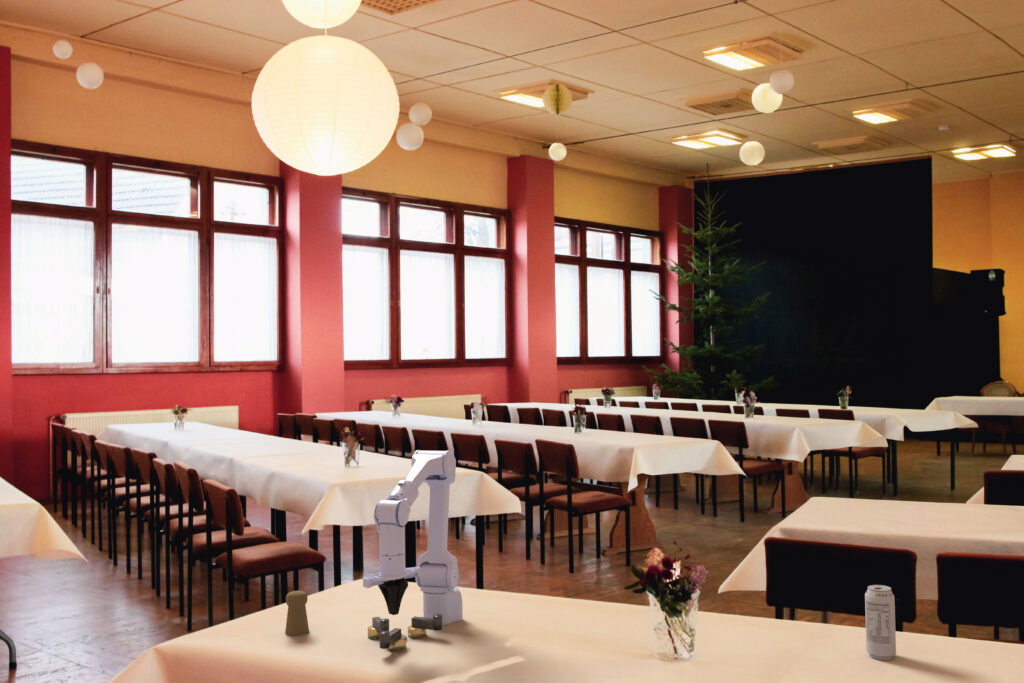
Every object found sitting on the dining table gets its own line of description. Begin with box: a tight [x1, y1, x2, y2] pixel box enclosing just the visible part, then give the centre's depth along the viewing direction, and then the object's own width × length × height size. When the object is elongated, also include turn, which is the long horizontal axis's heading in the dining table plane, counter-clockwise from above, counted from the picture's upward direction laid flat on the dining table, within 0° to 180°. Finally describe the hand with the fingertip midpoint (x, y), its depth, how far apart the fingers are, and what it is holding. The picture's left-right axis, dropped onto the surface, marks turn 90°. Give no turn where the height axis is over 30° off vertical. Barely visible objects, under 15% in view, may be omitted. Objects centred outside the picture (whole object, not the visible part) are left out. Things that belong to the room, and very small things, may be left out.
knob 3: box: [407, 614, 443, 639], centre depth 214 cm, size 9×4×5 cm, turn 67°
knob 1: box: [367, 616, 390, 640], centre depth 214 cm, size 9×4×5 cm, turn 27°
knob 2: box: [379, 627, 407, 652], centre depth 204 cm, size 9×4×5 cm, turn 160°
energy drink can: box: [864, 584, 897, 661], centre depth 198 cm, size 6×6×15 cm
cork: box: [284, 590, 310, 637], centre depth 220 cm, size 6×6×11 cm
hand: (393, 613), depth 203 cm, fingers closed
